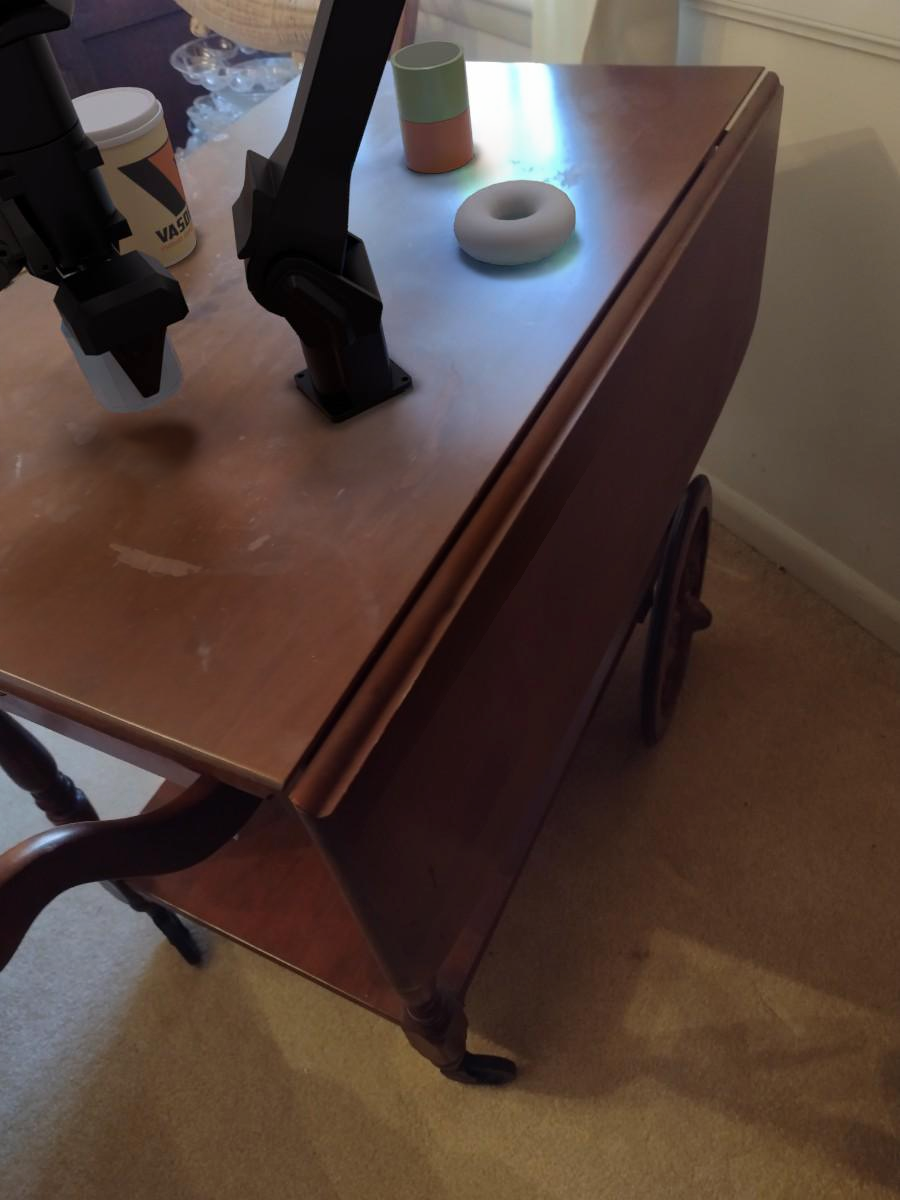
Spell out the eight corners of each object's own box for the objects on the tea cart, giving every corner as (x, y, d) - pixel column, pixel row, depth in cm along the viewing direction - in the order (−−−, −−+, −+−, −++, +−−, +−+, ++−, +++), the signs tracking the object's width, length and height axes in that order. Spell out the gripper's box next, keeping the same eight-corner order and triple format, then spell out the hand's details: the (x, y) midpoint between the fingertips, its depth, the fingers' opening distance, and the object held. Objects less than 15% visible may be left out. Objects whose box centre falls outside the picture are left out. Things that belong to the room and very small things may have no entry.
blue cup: (197, 387, 61) (168, 314, 57) (113, 425, 59) (77, 353, 55) (165, 348, 64) (136, 277, 60) (85, 383, 63) (49, 312, 58)
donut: (539, 285, 71) (597, 221, 76) (537, 244, 68) (597, 181, 73) (433, 261, 75) (494, 202, 80) (427, 221, 73) (490, 163, 77)
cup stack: (487, 156, 86) (478, 51, 79) (429, 180, 84) (414, 75, 78) (449, 135, 90) (438, 34, 83) (392, 158, 88) (376, 56, 82)
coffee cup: (182, 278, 78) (128, 133, 69) (85, 278, 80) (20, 137, 71) (221, 223, 84) (176, 82, 75) (129, 224, 86) (75, 87, 77)
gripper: (-153, 130, 52) (-17, 359, 64) (-91, 250, 41) (60, 501, 53) (34, 69, 56) (131, 298, 67) (137, 166, 44) (232, 420, 56)
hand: (134, 372), depth 61 cm, fingers closed on blue cup, 6 cm apart
